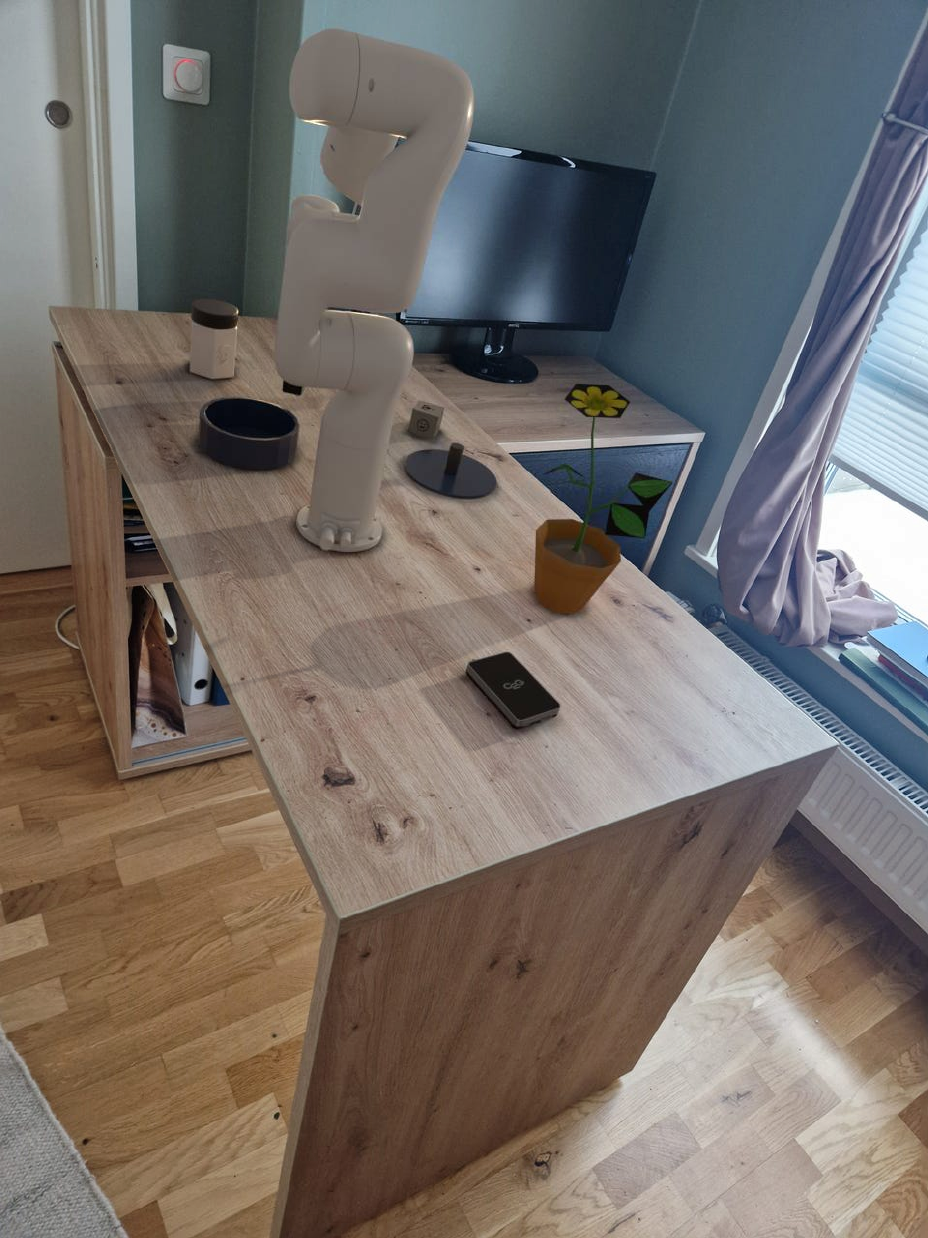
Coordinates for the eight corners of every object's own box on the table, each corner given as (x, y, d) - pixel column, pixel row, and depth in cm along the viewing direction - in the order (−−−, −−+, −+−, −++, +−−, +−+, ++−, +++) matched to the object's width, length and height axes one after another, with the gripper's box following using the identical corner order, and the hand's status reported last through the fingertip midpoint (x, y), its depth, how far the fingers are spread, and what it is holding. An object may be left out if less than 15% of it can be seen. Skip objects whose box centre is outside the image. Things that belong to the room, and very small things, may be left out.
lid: (497, 509, 138) (506, 477, 135) (401, 490, 136) (408, 457, 132) (492, 465, 152) (501, 435, 148) (405, 447, 149) (411, 416, 145)
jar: (201, 381, 151) (204, 316, 144) (178, 363, 155) (180, 299, 148) (244, 377, 157) (249, 314, 150) (221, 359, 161) (225, 297, 154)
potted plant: (477, 567, 123) (532, 375, 105) (581, 562, 131) (649, 383, 113) (529, 644, 110) (602, 441, 93) (641, 633, 119) (727, 445, 101)
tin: (288, 478, 130) (291, 448, 127) (188, 458, 128) (189, 427, 125) (301, 437, 143) (305, 408, 140) (210, 418, 140) (212, 389, 137)
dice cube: (414, 424, 158) (419, 399, 155) (438, 431, 158) (444, 407, 155) (407, 433, 154) (412, 408, 151) (432, 441, 154) (438, 416, 151)
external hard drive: (514, 734, 96) (518, 722, 95) (461, 674, 102) (465, 661, 101) (557, 719, 100) (562, 707, 98) (504, 661, 106) (508, 650, 105)
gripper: (291, 261, 139) (281, 361, 150) (275, 290, 126) (264, 399, 136) (336, 271, 141) (322, 370, 151) (324, 302, 127) (310, 408, 137)
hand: (295, 383), depth 143 cm, fingers closed on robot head, 7 cm apart
